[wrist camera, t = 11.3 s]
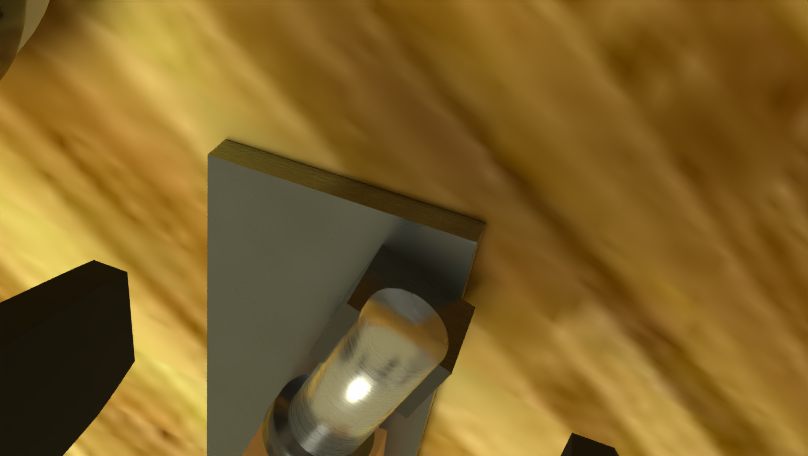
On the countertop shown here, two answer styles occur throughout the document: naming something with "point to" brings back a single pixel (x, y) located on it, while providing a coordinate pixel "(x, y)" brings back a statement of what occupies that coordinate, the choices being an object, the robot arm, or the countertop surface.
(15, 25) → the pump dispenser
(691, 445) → the countertop surface
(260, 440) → the block
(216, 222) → the base plate
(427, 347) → the shaft
